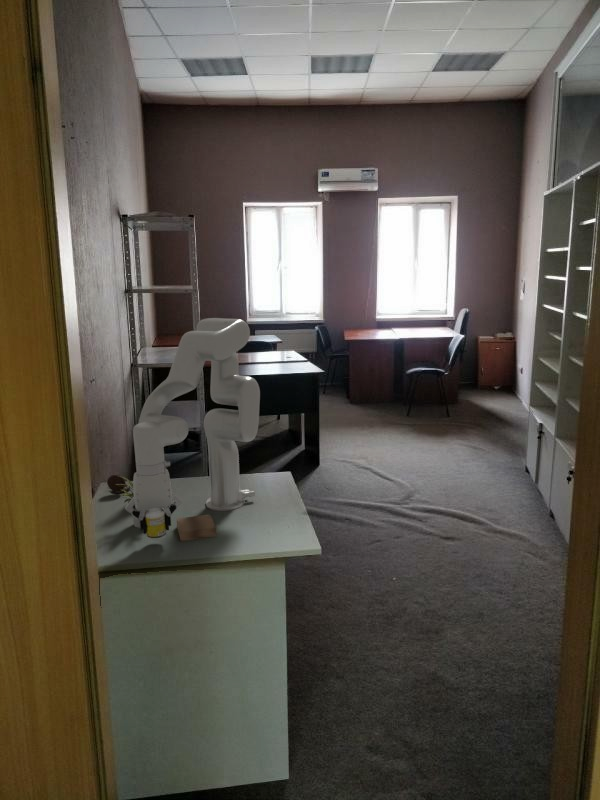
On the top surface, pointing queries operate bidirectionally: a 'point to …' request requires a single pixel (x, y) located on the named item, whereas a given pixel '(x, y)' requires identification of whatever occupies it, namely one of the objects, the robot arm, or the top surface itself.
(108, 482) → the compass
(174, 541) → the top surface
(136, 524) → the house plant
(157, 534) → the supplement bottle
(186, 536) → the walnut riser
